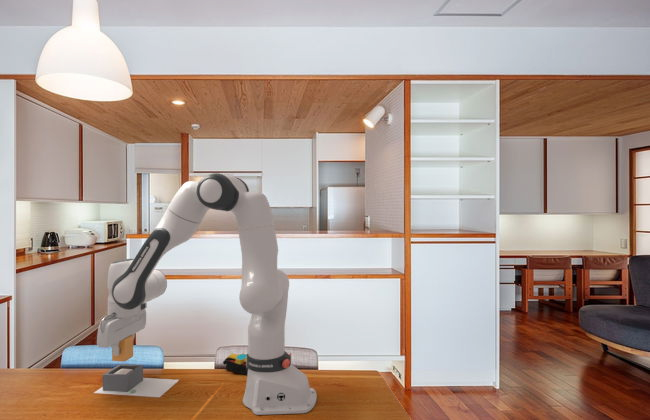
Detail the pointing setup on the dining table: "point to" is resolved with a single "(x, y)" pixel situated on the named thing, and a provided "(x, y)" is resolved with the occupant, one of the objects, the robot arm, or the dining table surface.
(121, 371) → the button
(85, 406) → the dining table surface
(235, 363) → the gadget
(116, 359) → the orange rectangular block
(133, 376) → the breaker panel
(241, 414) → the dining table surface
